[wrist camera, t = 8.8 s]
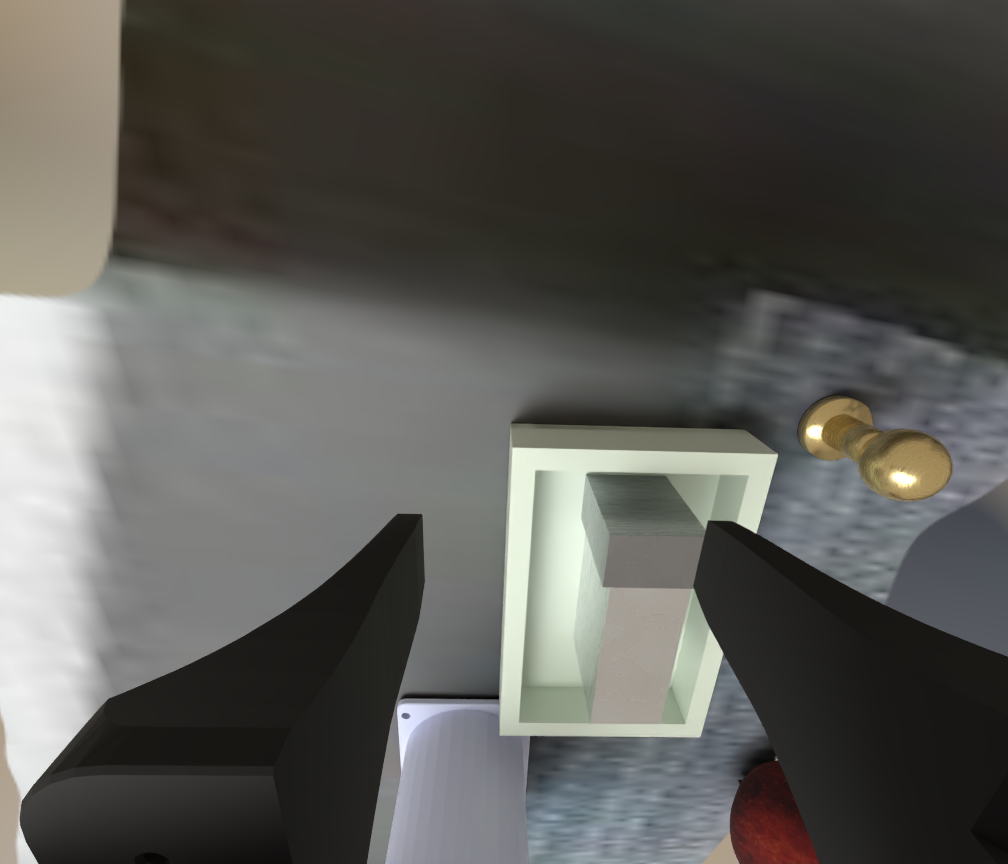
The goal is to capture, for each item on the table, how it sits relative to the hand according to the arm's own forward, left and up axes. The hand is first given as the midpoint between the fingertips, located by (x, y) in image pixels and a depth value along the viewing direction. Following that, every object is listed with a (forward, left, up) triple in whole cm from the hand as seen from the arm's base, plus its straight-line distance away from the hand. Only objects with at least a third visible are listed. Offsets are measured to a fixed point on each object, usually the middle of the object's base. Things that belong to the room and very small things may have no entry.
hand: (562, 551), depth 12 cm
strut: (-8, -5, -10) cm, 13 cm away
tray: (-9, -5, -10) cm, 14 cm away
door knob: (0, -14, -10) cm, 17 cm away
